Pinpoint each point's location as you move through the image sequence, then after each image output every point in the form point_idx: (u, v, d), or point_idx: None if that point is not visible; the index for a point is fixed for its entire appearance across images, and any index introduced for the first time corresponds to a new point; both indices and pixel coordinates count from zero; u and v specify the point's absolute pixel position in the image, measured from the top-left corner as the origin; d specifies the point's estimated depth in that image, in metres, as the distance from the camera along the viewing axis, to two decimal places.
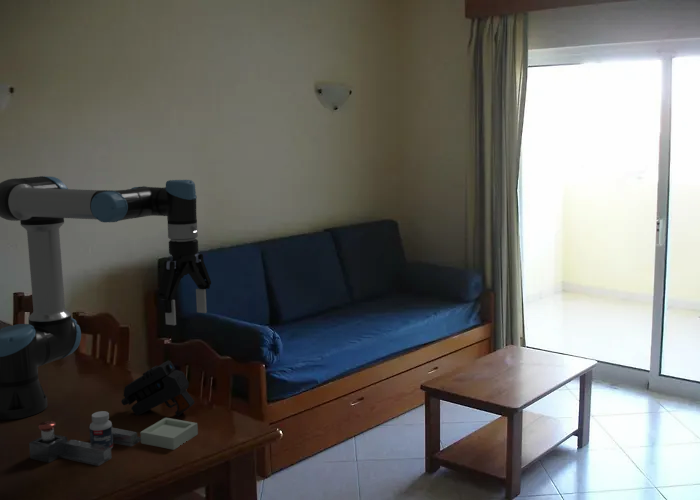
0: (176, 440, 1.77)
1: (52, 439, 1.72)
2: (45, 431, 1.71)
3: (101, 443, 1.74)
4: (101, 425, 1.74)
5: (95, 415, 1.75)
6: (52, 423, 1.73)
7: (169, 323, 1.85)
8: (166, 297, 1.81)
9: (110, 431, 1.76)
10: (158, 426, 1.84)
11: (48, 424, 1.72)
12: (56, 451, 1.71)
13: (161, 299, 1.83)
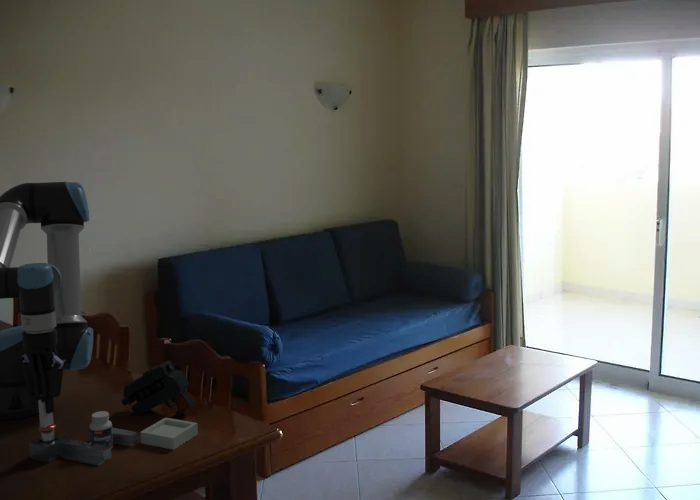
0: (176, 440, 1.77)
1: (52, 441, 1.72)
2: (45, 433, 1.71)
3: (101, 443, 1.74)
4: (101, 425, 1.74)
5: (95, 415, 1.75)
6: (52, 425, 1.73)
7: None
8: (30, 394, 1.71)
9: (110, 431, 1.76)
10: (158, 426, 1.84)
11: (48, 426, 1.72)
12: (56, 451, 1.71)
13: None
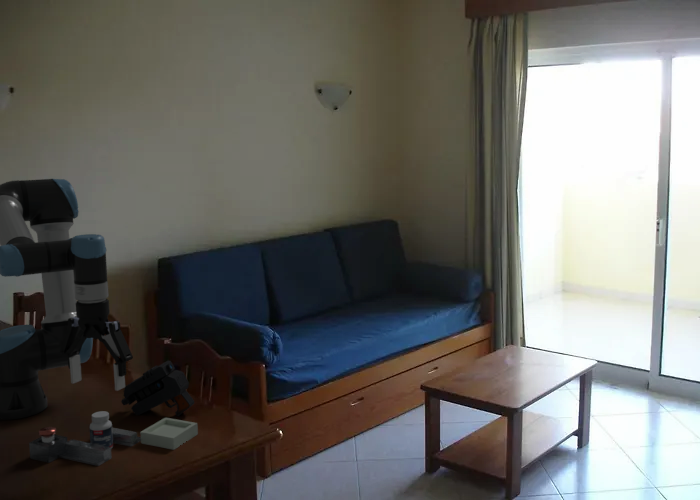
0: (176, 440, 1.77)
1: None
2: (45, 437, 1.71)
3: (101, 443, 1.74)
4: (101, 425, 1.74)
5: (95, 415, 1.75)
6: (52, 429, 1.73)
7: None
8: (61, 351, 1.76)
9: (110, 431, 1.76)
10: (158, 426, 1.84)
11: (48, 430, 1.72)
12: (56, 451, 1.71)
13: None
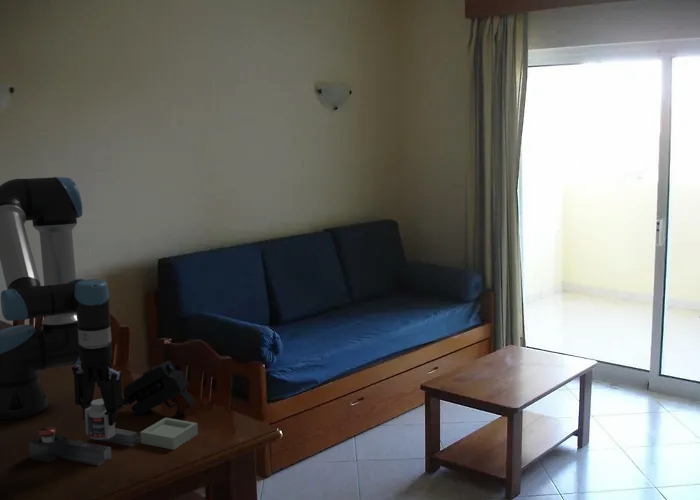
0: (176, 440, 1.77)
1: None
2: (45, 437, 1.71)
3: (100, 430, 1.74)
4: (101, 412, 1.74)
5: (94, 403, 1.75)
6: (52, 429, 1.73)
7: None
8: (76, 403, 1.77)
9: None
10: (158, 426, 1.84)
11: (48, 430, 1.72)
12: (56, 451, 1.71)
13: None
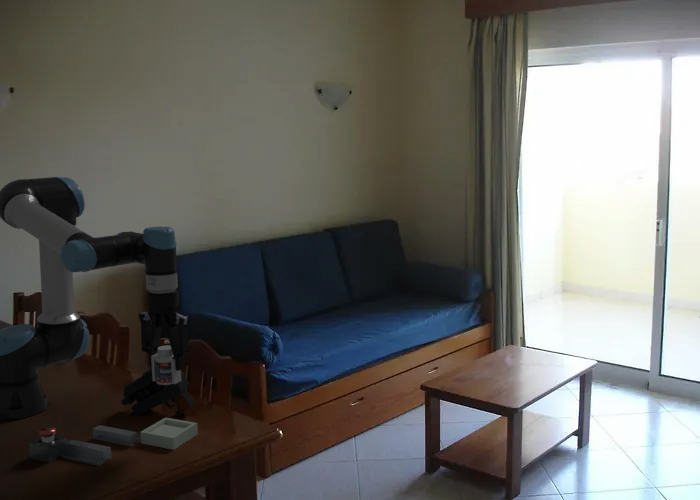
0: (176, 440, 1.77)
1: None
2: (45, 437, 1.71)
3: (167, 376, 1.77)
4: (167, 358, 1.77)
5: (161, 348, 1.78)
6: (52, 429, 1.73)
7: None
8: (143, 349, 1.80)
9: None
10: (158, 426, 1.84)
11: (48, 430, 1.72)
12: (56, 451, 1.71)
13: (156, 351, 1.82)
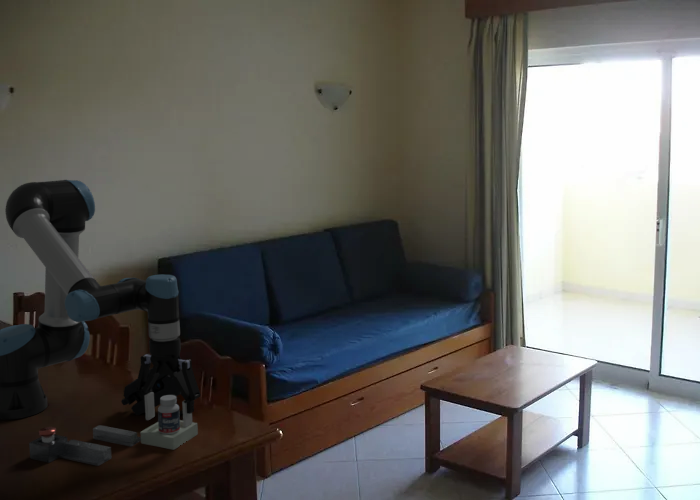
0: (176, 440, 1.77)
1: None
2: (45, 437, 1.71)
3: (170, 426, 1.79)
4: (170, 408, 1.79)
5: (164, 398, 1.80)
6: (52, 429, 1.73)
7: None
8: (136, 389, 1.83)
9: (178, 414, 1.81)
10: (158, 426, 1.84)
11: (48, 430, 1.72)
12: (56, 451, 1.71)
13: None
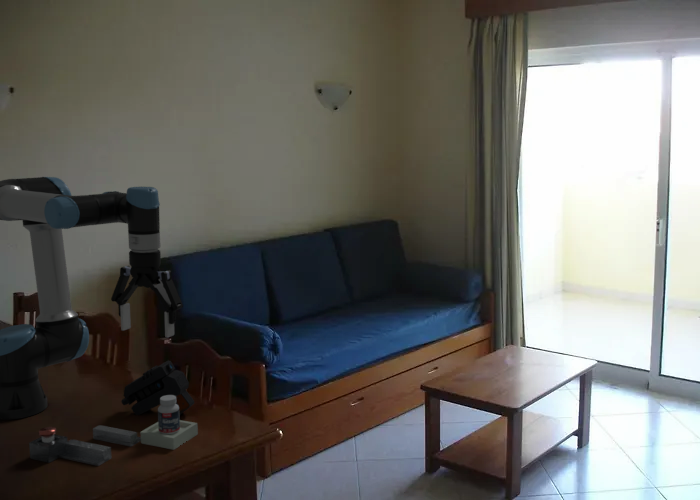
0: (176, 440, 1.77)
1: None
2: (45, 437, 1.71)
3: (170, 426, 1.79)
4: (170, 408, 1.79)
5: (164, 398, 1.80)
6: (52, 429, 1.73)
7: None
8: (112, 299, 1.83)
9: (178, 414, 1.81)
10: None
11: (48, 430, 1.72)
12: (56, 451, 1.71)
13: None
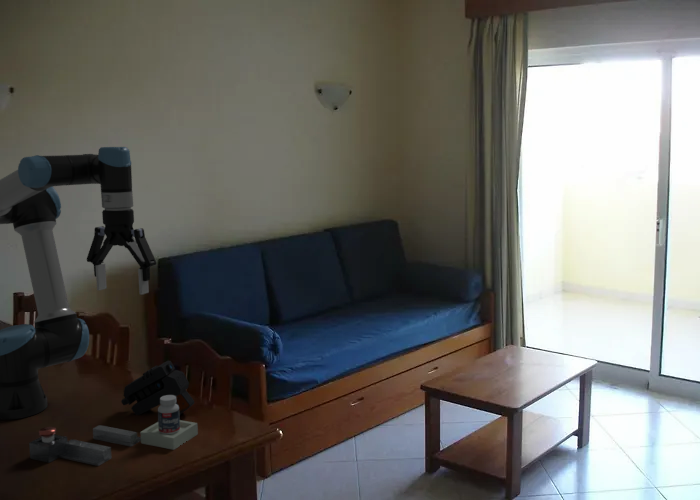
0: (176, 440, 1.77)
1: None
2: (45, 437, 1.71)
3: (170, 426, 1.79)
4: (170, 408, 1.79)
5: (164, 398, 1.80)
6: (52, 429, 1.73)
7: None
8: (87, 259, 1.85)
9: (178, 414, 1.81)
10: None
11: (48, 430, 1.72)
12: (56, 451, 1.71)
13: None
